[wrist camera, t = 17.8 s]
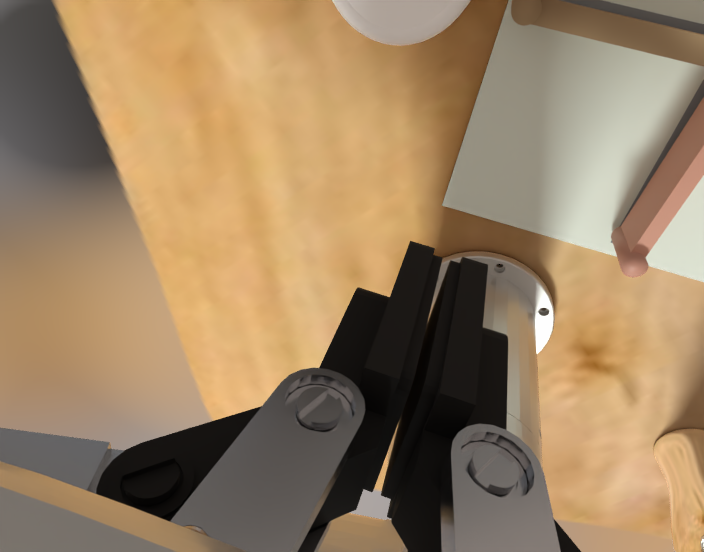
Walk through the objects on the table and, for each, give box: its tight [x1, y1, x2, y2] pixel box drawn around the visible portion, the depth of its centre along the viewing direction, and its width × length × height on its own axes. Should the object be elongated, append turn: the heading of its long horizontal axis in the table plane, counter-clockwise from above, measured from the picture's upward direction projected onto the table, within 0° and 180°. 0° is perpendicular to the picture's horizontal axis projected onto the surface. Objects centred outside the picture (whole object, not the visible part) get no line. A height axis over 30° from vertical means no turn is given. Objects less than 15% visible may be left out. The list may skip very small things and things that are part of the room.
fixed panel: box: [511, 0, 704, 67], centre depth 29 cm, size 2×12×5 cm, turn 80°
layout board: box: [442, 0, 704, 282], centre depth 34 cm, size 18×28×1 cm, turn 79°
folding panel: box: [611, 97, 704, 277], centre depth 32 cm, size 15×2×5 cm, turn 166°
